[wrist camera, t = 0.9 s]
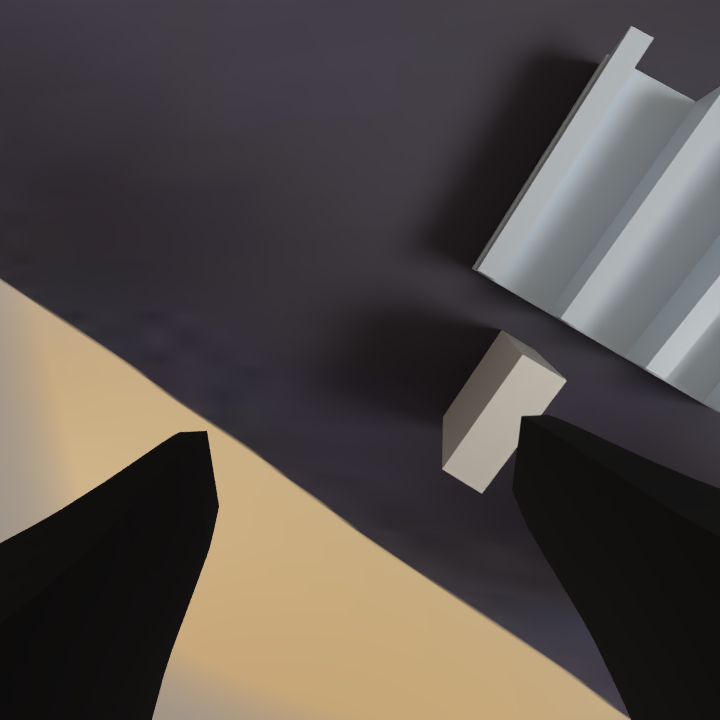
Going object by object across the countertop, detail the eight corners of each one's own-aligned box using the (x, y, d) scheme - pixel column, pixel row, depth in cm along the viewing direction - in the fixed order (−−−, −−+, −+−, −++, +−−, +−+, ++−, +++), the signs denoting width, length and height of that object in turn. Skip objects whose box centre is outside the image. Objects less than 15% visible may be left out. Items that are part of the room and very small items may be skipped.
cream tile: (533, 348, 24) (566, 380, 18) (472, 434, 26) (482, 493, 19) (501, 330, 24) (522, 354, 18) (443, 416, 26) (442, 469, 19)
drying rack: (878, 215, 20) (964, 204, 17) (709, 408, 23) (754, 431, 20) (600, 63, 21) (629, 25, 18) (471, 268, 24) (475, 269, 21)
